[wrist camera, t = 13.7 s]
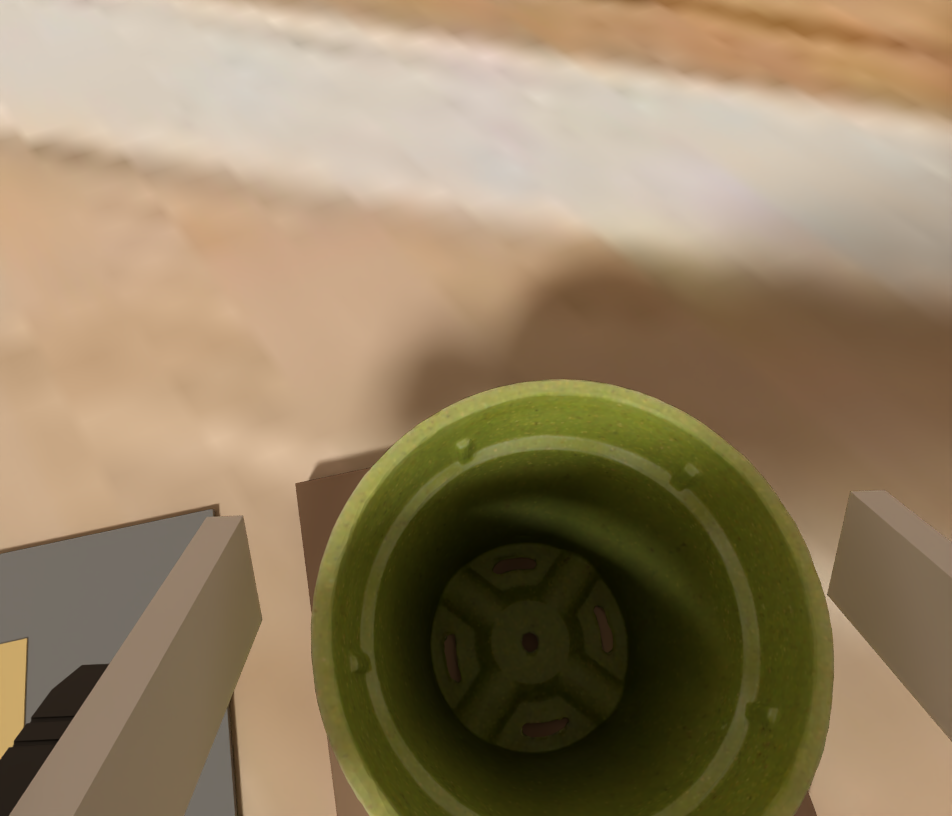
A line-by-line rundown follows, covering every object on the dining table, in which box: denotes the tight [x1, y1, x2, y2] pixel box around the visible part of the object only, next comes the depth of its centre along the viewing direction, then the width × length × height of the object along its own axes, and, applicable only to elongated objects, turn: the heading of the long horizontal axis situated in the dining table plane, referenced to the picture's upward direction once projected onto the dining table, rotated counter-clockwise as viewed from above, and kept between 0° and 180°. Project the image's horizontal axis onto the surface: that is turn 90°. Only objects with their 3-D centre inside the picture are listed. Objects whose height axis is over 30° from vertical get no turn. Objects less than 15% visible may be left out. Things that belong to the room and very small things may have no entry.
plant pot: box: [311, 379, 834, 816], centre depth 16 cm, size 9×9×9 cm
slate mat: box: [0, 509, 237, 816], centre depth 19 cm, size 13×13×1 cm
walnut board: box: [295, 467, 817, 816], centre depth 20 cm, size 13×13×1 cm
